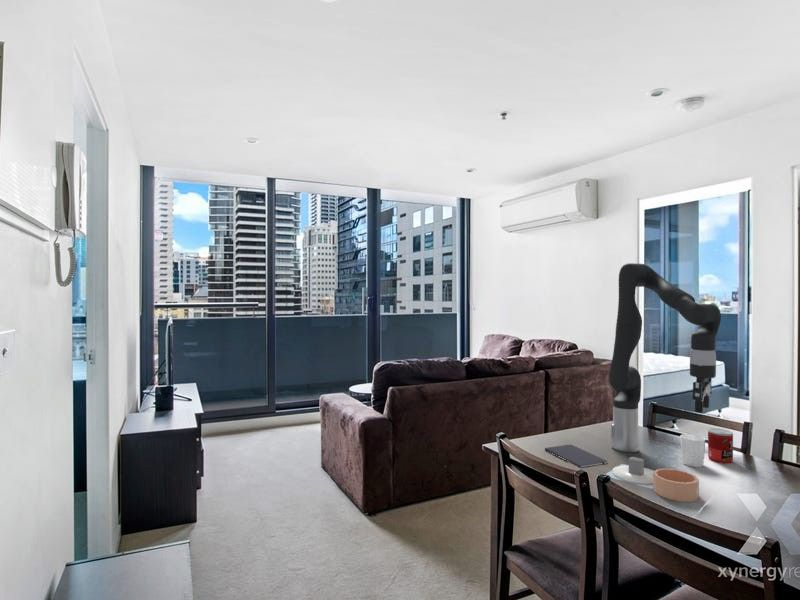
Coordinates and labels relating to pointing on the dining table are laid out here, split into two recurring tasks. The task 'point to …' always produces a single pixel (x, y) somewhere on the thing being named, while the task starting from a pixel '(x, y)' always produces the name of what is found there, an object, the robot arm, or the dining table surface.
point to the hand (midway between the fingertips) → (702, 409)
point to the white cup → (692, 450)
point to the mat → (629, 482)
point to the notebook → (576, 455)
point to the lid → (634, 472)
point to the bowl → (676, 484)
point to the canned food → (720, 445)
